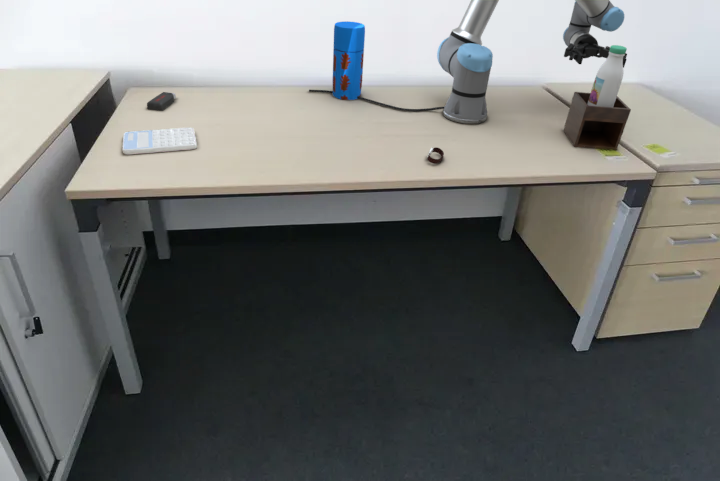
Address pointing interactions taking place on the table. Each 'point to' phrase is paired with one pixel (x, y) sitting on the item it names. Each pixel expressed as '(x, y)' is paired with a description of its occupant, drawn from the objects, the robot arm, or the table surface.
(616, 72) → the milk bottle
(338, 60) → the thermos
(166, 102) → the usb drive
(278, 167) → the table surface
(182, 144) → the calculator
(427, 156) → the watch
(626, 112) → the shelf unit
